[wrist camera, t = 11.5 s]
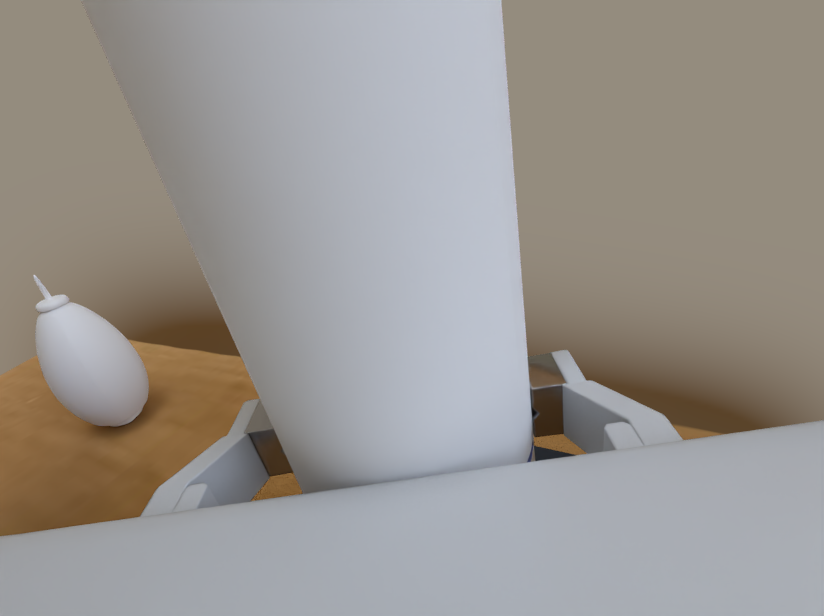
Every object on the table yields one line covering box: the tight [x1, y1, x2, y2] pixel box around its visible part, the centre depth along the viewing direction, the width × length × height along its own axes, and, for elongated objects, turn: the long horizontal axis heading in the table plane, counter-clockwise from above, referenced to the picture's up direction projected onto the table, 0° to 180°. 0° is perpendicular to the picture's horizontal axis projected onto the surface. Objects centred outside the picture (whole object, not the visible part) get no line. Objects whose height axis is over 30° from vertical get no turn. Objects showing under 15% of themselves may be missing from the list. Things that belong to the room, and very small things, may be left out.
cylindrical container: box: [81, 0, 535, 494], centre depth 13 cm, size 7×7×25 cm
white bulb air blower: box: [33, 275, 149, 427], centre depth 44 cm, size 8×8×18 cm
